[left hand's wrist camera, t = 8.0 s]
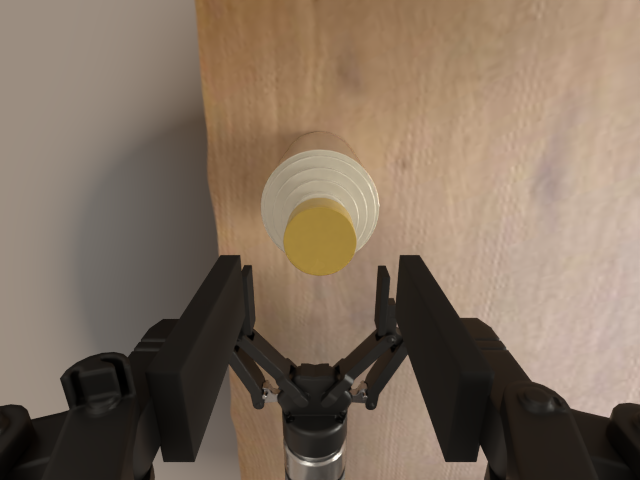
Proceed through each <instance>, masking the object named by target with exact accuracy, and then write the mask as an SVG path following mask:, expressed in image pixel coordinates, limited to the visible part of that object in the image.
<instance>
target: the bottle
mask: <svg viewBox="0 0 640 480" xmlns="http://www.w3.org/2000/svg"><path fill="white" fill-rule="evenodd" d="M312 198H328V199H332V200H334V201H336V202H338V203H340V204H341V205H342V206H343V207H344V208H345V209H346V210H347V211H348V213H349V214H350V216H351V218H352V222H353V225H354V229H355V233H356V238H357V245H356V250H355V252H357V251H358V250H359V249H360V248H361V247H362V246H363V245H364V244H365V243H366V242H367V241H368V239H369V238H370V236H371V235H372V233H373V231H374V229H375V227H376V223H377V220H378V215H379V199H378V194H377V190H376V187H375V185H374V182H373V181H372V179H371V177H370V175H369V174H368V172H367V171H366V169H365V168H364V166H363V165H362V163H361V162H360V160H359V159H358V157H357V156H356V154H355V153H354V151H353V150H352V148H351V147H350V146H349V145H348V144H347V143H346V142H345V141H344V140H343V139H342V138H340V137H338V136H337V135H334V134H332V133H328V132H312V133H309V134H306V135H304V136H301V137H300V138H298V139H297V140H296V141H295V142H293V144H292V145H291V146H290V147H289V149H288V150H287V152H286V153H285V155H284V156H283V158H282V159H281V161H280V162H279V164H278V165H277V167H276V168H275V170H274V171H273V173H272V174H271V176H270V177H269V179H268V181H267V183H266V185H265V187H264V190H263V193H262V199H261V215H262V220H263V224H264V226H265V229H266V231H267V233H268V235H269V237H270V238H271V239H272V241H273V242H274V243H275V244H276V245H277V246H278V248H280V249H281V250H282V251H283V252H285V250H284V245H283V238H284V232H285V229H286V225H287V221H288V218H289V216H290V214H291V213H292V211H293V210H294V209H295V208H296V207H297V206H298V205H299V204H300V203H302V202H304V201H306V200H308V199H312Z"/></svg>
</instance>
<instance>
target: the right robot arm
mask: <svg viewBox="0 0 640 480" xmlns="http://www.w3.org/2000/svg"><path fill="white" fill-rule="evenodd" d="M242 283H243V295H244V307H245V318H244V321H243V324H242V327H241V330H240V332H239V335H238V338H237V341H236V344H235V347H234V350H233V353H232V355H231V358H230V361H229V364H230V366H231V367H232V369H233V370H234V371H235V373H236V374H237V376H238V377H239V378H240V380H241V381H242V383H243V384H244V385H245V387H246V388H247V390H248V391H249V392H250V394H251V398H252V403H253V406H254V408H256V409H262V408H263V407H264V403H267V402H278V403H279V404H280V406H281V408H282V418H283V436H284V439H283V443H284V460H285V480H345V463H346V434H347V412H348V407H349V405H350V404H351V403H352V402H356V403H365V406H366V408H367V409H368V410H373V409H375V408H376V406H377V401H378V397H379V394H380V392H381V391H382V390H383V388H384V387H385V385H386V384H387V383H388V381H389V380H390V378H391V377H392V376H393V374H394V373H395V371H396V370H397V369H398V367H399V366H400V364H401V363H402V362H403V360H404V359H405V357H406V356H407V355H408V353H407V350H406V347H405V344H404V341H403V338H402V335H401V332H400V330H399V328H398V327H396V324H397V321H396V318H395V307H396V303H395V301H394V298H389V286H390V276H389V273H388V271H387V268H386V266H378V274H377V290H376V305H375V320H374V321H375V325H376V330H375V331H374V332H373V333H372V334H371V335H370V336H369V337H368V338H366V339H365V340H364V341H363V342H362V343H361V344H360V345H359V346H358V347H357V348H356V349H355V350H354V351H353V352H351V353H350V354H349V355H348V356H347V357H346V358H345V359H343V358H342V359H341V360H340V361H338V362H337V363H336V364H335V365H334V366H333V367H331V366H329V364H318V365H312V364H301V366H298V367H297V366H296V365H295V364H294V363H293V362H292V361H291V360H290V359H288V358H286V359H285V358H284V357H283V356H282V355H281V354H280V353H279V352H278V351H277V350H276V349H275V348H274V347H272V346H271V345H270V344H269V343H268V342H267V341H266V340H265V339H264V338H263V337H262V336H261V335H260V334H259V333H258V332H257V331H255V330H254V329H253V327H254V323H255V305H254V291H253V276H252V265H244V267H243V269H242ZM376 360H377V361H376ZM254 361H255V362H257V363H258V364H259V365H260V366H261V367H262V368H263V369H264V370H265V371H267V372H268V373H269V374H270V375H271V376H272V377H273V378H274V379H275V380H276V383H277V385H278V386H279V388H278V389H275V388H273V387H272V386H271V384H270V381H269V380H265V378H264V376H263V374H262V372H261V370H260V369H259V367H258V366H257V365H256V363H255V362H254ZM374 361H376V362H375V364H374V365H373V367H372V368H371V370H370V371H369V373H368V374H367V376H366V379H365V381H361V382H360V385H359V386H358V388H356V389H351V386H352V384H353V382H354V380H355V379H356V378H357V377H358V376H359V375H360V374H361V373H362V372H363V371H364V370H366V369H367V368H368V367H369V366H370V365H371V364H372V363H373V362H374Z"/></svg>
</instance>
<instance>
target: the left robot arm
mask: <svg viewBox="0 0 640 480" xmlns="http://www.w3.org/2000/svg"><path fill="white" fill-rule="evenodd" d="M244 318H245V307H244V295H243V283H242V271H241V259H240V255H220V257H219V258H218V260H217V262H216V263H215V265H214V266H213V268H212V269H211V271H210V272H209V274H208V276H207V277H206V279H205V280H204V282H203V283H202V285H201V286H200V288H199V290H198V291H197V293H196V294H195V296H194V297H193V299H192V300H191V302H190V304H189V305H188V307H187V308H186V310H185V311H184V313H183V314H182V316H181V317H180V319H163V320H161V321H160V322H158V323H157V324H155V325H154V326H152V327H151V328H150V329H149V330H148V331H147V332H146V334H145V335H144V336H143V338H142V339H141V342H139V343H138V344H137V346H136V347H135V348H134V351H132V352H131V354H130V355H129V356H128V357H126V356H125V355H124V354H121V353H116V352H109V353H100V354H97V355H93V356H89V357H87V358H85V359H83V360H81V361H79V362H77V363H75V364H74V365H73V366H71V367H70V368H69V369H67V370H66V371H65V373H64V374H63V375H62V377H61V378H60V380H61V383H62V386H63V390H64V393H65V396H66V399H67V402H68V406H69V410H68V411H65V412H61V413H57V414H53V415H48V416H44V417H40V418H36V419H30V416H29V413H28V411H27V409H25V408H24V407H23V406H21V405H12V404H10V405H5V406H0V480H155V475H154V468H153V464H152V462H153V460H154V458H155V456H156V453H157V451H158V449H159V447H161V452H162V456H163V461H164V462H195V459H196V456H197V453H198V450H199V447H200V444H201V442H202V439H203V436H204V433H205V430H206V427H207V424H208V421H209V419H210V416H211V413H212V410H213V407H214V404H215V401H216V399H217V396H218V393H219V390H220V387H221V384H222V381H223V378H224V376H225V373H226V370H227V367H228V364H229V361H230V358H231V355H232V353H233V350H234V347H235V344H236V341H237V338H238V335H239V332H240V330H241V327H242V324H243V321H244ZM395 318H396V321H397V324H398V327H399V330H400V332H401V335H402V338H403V341H404V344H405V347H406V350H407V353H408V355H409V358H410V361H411V364H412V367H413V370H414V373H415V376H416V378H417V381H418V384H419V387H420V390H421V393H422V396H423V399H424V401H425V404H426V407H427V410H428V413H429V416H430V419H431V421H432V424H433V427H434V430H435V433H436V436H437V439H438V442H439V444H440V447H441V450H442V453H443V456H444V459H445V462H476V461H477V457H478V452H479V447H480V445H481V447H482V449H483V452H484V454H485V456H486V458H487V460H488V464H487V468H486V473H485V477H484V480H640V405H639V404H633V403H623V404H618V405H617V406H616V407H614V408H613V410H612V413H611V416H610V418H607V417H603V416H598V415H594V414H590V413H585V412H581V411H577V410H574V409H571V408H570V407H569V406H568V404H567V403H566V401H565V400H564V399H563V398H562V397H561V396H560V395H558V394H557V393H556V392H555V391H553V390H551V389H549V388H548V387H546V386H544V385H541V384H538V383H535V382H532V381H531V380H530V379H529V377H528V376H527V375H526V373H525V372H524V371H523V369H522V368H521V367H520V365H519V364H518V363H517V361H516V360H515V359H514V357H513V356H512V355H511V353H510V352H509V351H508V350H506V347H505V345H504V344H503V343H502V342H501V341H499V338H498V336H497V335H496V334H495V332H494V331H493V330H492V328H491V327H489V326H488V325H487V324H485V323H484V322H482V321H481V320H479V319H478V318H460V317H459V316H458V314H457V313H456V311H455V310H454V308H453V306H452V305H451V303H450V302H449V300H448V299H447V297H446V296H445V294H444V293H443V291H442V289H441V288H440V286H439V285H438V283H437V282H436V280H435V279H434V277H433V276H432V274H431V272H430V271H429V269H428V268H427V266H426V265H425V263H424V262H423V260H422V258H421V257H420V255H400V259H399V271H398V283H397V295H396V307H395Z"/></svg>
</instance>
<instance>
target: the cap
mask: <svg viewBox="0 0 640 480" xmlns="http://www.w3.org/2000/svg"><path fill="white" fill-rule="evenodd" d="M283 245H284V250H285V253H286V255H287V257H288V259H289V260H290V262H291V263H292V264H293V265H294V266H295V267H296V268H298V269H299V270H301V271H303V272H305V273H308V274H311V275H318V276H322V275H329V274H333V273H335V272H337V271H339V270H341V269H342V268H344V267H345V266H346V265H347V264H348V263H349V262H350V260H351V259H352V257H353V255H354V253H355V250H356V245H357V238H356V233H355V229H354V225H353V222H352V218H351V216H350V214H349V213H348V211H347V210H346V209H345V208H344V207H343V206H342V205H341V204H340V203H338V202H336V201H334V200H332V199H328V198H312V199H308V200H306V201H304V202H302V203H300V204H299V205H298V206H297V207H296V208H295V209H294V210H293V211H292V213H291V214H290V216H289V218H288V221H287V225H286V229H285V232H284V238H283Z"/></svg>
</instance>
